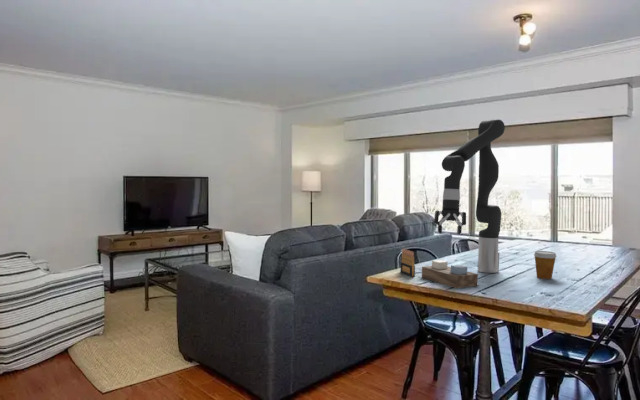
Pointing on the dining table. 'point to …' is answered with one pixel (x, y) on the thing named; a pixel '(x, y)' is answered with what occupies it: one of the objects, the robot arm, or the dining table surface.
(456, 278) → the key panel
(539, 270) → the disposable coffee cup
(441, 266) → the cream key
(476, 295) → the dining table surface
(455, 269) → the slate key
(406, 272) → the wooden panel with frame
